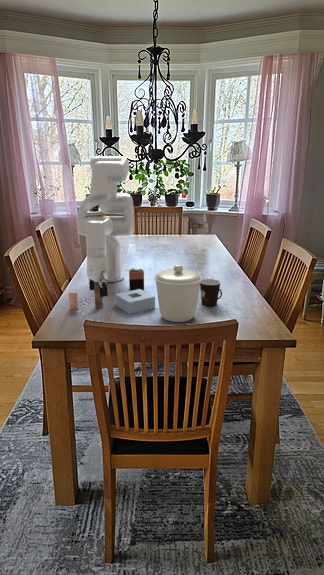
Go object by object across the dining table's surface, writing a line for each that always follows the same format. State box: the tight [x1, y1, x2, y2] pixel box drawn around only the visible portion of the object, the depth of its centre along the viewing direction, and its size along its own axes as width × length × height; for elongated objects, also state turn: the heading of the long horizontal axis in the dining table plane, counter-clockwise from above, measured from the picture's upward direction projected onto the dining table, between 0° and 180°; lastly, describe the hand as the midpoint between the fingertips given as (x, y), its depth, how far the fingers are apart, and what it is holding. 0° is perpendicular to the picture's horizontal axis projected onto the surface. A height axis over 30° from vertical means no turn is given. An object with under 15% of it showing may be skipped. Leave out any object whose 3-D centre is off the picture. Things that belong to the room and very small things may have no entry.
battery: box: [128, 268, 145, 291], centre depth 185 cm, size 4×7×10 cm, turn 95°
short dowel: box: [68, 290, 79, 311], centre depth 162 cm, size 3×3×7 cm
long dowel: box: [93, 279, 104, 310], centre depth 162 cm, size 3×3×13 cm
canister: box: [154, 264, 203, 323], centre depth 151 cm, size 18×18×21 cm
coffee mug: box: [199, 278, 223, 308], centre depth 165 cm, size 12×9×10 cm
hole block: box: [114, 289, 156, 315], centre depth 164 cm, size 12×12×5 cm
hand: (98, 293), depth 162 cm, fingers open, 9 cm apart
